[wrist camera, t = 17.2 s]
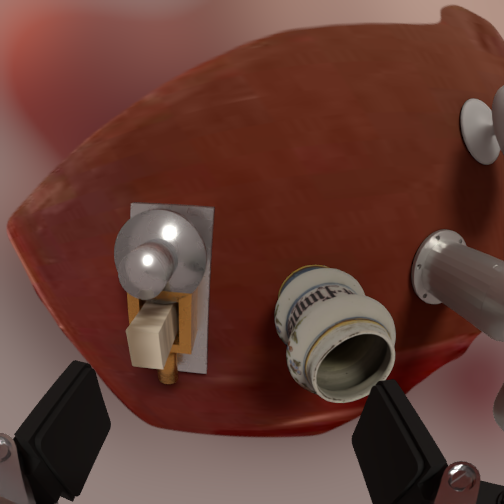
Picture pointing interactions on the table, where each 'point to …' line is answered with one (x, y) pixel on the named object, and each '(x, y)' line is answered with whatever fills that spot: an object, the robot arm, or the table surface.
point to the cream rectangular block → (153, 334)
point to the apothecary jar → (333, 334)
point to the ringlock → (170, 274)
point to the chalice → (484, 128)
